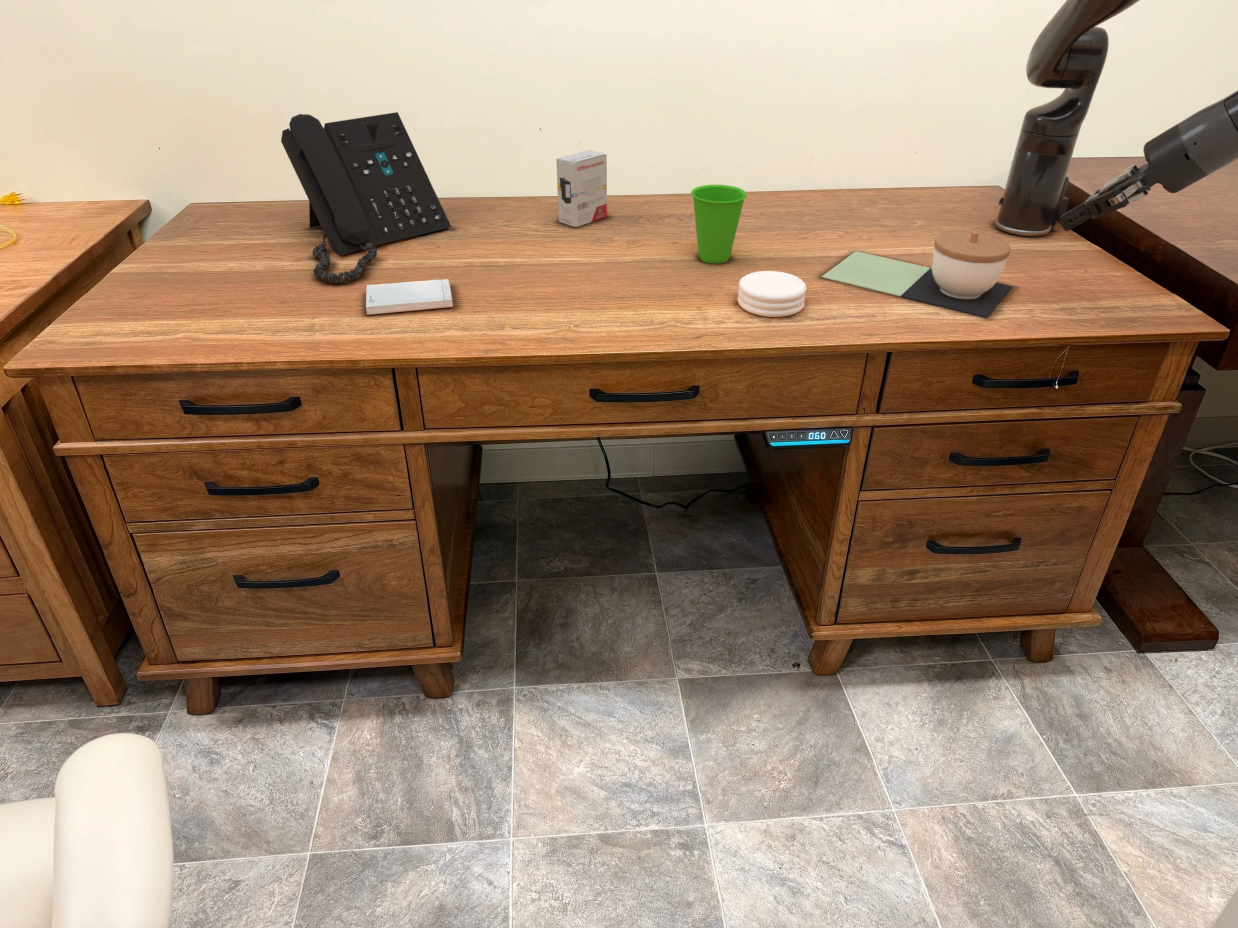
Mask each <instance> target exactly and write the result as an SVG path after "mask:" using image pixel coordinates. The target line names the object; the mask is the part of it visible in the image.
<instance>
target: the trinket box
mask: <svg viewBox="0 0 1238 928" xmlns="http://www.w3.org/2000/svg"><path fill="white" fill-rule="evenodd" d="M1010 253H1011V245H1010V244H1009V243H1008V242H1007V241H1005V240H1004V239H1002V238H1000V237H998V236H994V235H991V234H988V233H983V232H979V231H978V230H972V231H971V230H970V231H968V230H966V231H965V230H954V231H947V232H943V233H940V234H938V235H937V236H936V237H935V239H934V243H933V251H932V257H931V268H932V274H933V277H934V280H935V282H936V283H937V285H938V286H939V287H940V291H941V292H942V293H944V294H945V295H948V296H950V297H954V298H959V299H975V298H978V297H980V296H981V294H983V293H984V292H986V291H988V290H989V289H990V288H992V287H993V286H994V285H995V283H998V281H999V279H1000V278H1001V276H1002V274H1003V271H1004V269H1005V266H1006V264H1007V260H1008V257H1009V256H1010Z"/></svg>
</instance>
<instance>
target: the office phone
mask: <svg viewBox="0 0 1238 928" xmlns="http://www.w3.org/2000/svg"><path fill="white" fill-rule="evenodd" d="M288 125H289V128H285V129H284V130H282V132H281V139H280V142H281V144H282V147H283V149H284V151H285V153H286V155H287V157H288V159H289V162H290V163H291V165H292V168H293V170H294V172H295V174H296V177H297V178H298V180H299V182H300V185H301V186H302V189H303V191H304V193H305V195H306V198H307V199H308V201H309V203H308V206H309V207H308V211H309V217H308V218H309V219H308V220H309V229H313V228H317V227H321V229H322V231H323V233H324V234H323V237H322V242H321V243H319V244H318V245H315V246H314V247H313V248H312V250H311V251H312V256H313V257H315V258H316V259H317V260H318V263H316V264H315V267H314V269H313V270H312V271H313V275H314V276H315V278H316V279H318V280H321V281H323V282H326V283H329V282H330V283H332V284H342V283H348V282H350V281H355V279H358V278H362V275H364V272H365V271H366V268H367V264H371V262H372V261H373V260H375V259H376V258H377V257H376V256H377V255H378V249H377V246H380V245H382V244H388V243H391V242H396V241H399V240H403V239H407V238H408V239H409V238H412V237H417V236H421V235H424V234H429V233H433V232H436V231H441V230H446V229H449V228H452V225H451V223H450V220H449V219H448V217H447V215H446V212H445V210H444V208H443V205H442V203H441V202H440V199H439V197H438V195H437V193H436V190H435V189H434V187H433V185H432V182H431V180H430V178H429V176H428V174H427V172H426V170H425V167H424V165H423V163H422V161H421V159H420V157H419V155H418V153H417V151H416V148H415V146H414V144H413V142H412V140H411V138H410V136H409V134H408V131H407V129H406V127H405V125H404V123H403V121H402V118H401V116H400V114H399V112H398V111H395V112H389V113H383V114H377V115H369V116H364V117H356V118H351V119H343V120H338V121H331V122H325V123H324V125H322V123H321V121H320V119H318V118H316V117H315V116H313V115H311V114H307V113H306V114H305V113H299V114H296V115H294V116H292V117H291V118H290V120H289V124H288ZM326 240H327V242H328V244H329V246H330V248H331V250H332V251H333V252H335V253H337V254H338V255H340V256H345V255H348V254H353V253H356V252H359V251H362V250H365V251H367V252H366V253H364V255H363V256H362V257H361V258H359V259H358V260H357V262H356V265H355V267H354V269H350V270H349V271H346V270H345V271H344V272H343V270H342V271H339V272H338V274H337V273H334V272H329V271H325V270H326V269H327V268H328V267H329V265H330V264H331V255H330V254H328V253H327V252H328V247H327V246H326Z"/></svg>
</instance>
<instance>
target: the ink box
mask: <svg viewBox="0 0 1238 928" xmlns="http://www.w3.org/2000/svg"><path fill="white" fill-rule="evenodd" d="M607 160H608V159H607V154H606V153H604V152H601V151H596V150H592V149H587V150H583V151H579V152H575V153H572V154H569V155H568V154H567V155H564V156H560V157H557V158H556V161H555V162H556V185H557V213H558V223H561V224H564V225H567V226H569V227H573V228H579V227H581V226H584V225H587V224H590V223H593V222H596V221H598V220H601V219H605V218H607V217H608V185H607V184H608V181H607V180H608V170H607V169H608V168H607V167H608V165H607V163H608V161H607Z"/></svg>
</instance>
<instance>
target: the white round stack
mask: <svg viewBox="0 0 1238 928" xmlns="http://www.w3.org/2000/svg"><path fill="white" fill-rule="evenodd" d="M806 292H807V284H806V283H805V282H804V281H803V280H802V279H801V278H800V277H798V276H796V275H794V274H791V273H787V272H783V271H777V270H759V271H753V272H750V273H748V274H746V275H744V276H743V277H742V278H740V279H739V282H738V289H737V294H738V295H737V297H736V298H737V303H738V305H739V306H740V307H741V308H742V310H744V311H746V312H748V313H749V314H752V315H756V316H761V317H765V318H766V317H767V318H783V317H790V316H793V315H796V314H798V313H799V312H801V311H802V310H803V308H804V307H805V300H806V297H807V295H806Z"/></svg>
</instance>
